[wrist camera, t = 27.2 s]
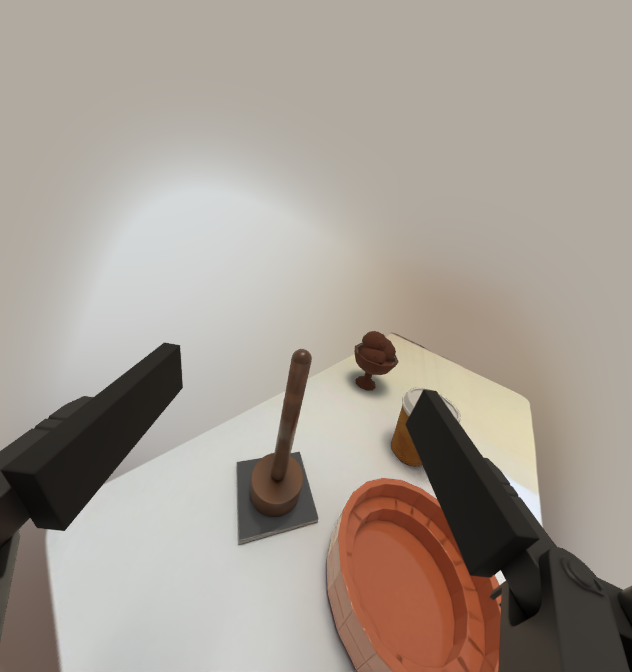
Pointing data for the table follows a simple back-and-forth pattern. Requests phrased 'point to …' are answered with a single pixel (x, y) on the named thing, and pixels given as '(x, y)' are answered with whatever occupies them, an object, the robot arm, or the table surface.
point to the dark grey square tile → (261, 525)
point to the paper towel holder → (283, 450)
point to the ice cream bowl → (374, 358)
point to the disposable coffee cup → (401, 438)
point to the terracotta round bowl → (408, 587)
